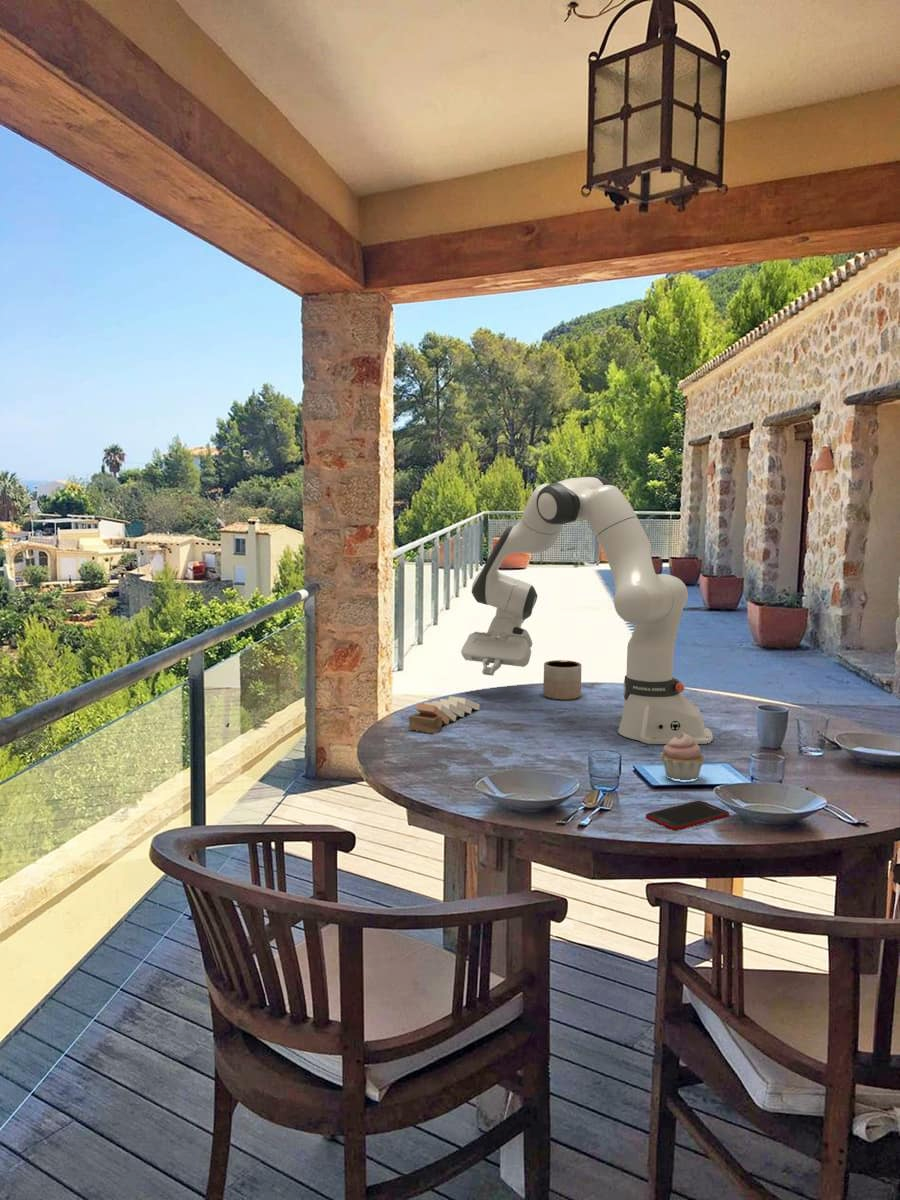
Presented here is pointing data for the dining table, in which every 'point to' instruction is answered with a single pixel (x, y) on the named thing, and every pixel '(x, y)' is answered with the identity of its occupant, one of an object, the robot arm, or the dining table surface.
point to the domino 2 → (444, 711)
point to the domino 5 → (466, 702)
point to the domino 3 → (452, 708)
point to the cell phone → (687, 815)
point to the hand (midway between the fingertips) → (487, 674)
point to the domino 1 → (432, 712)
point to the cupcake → (682, 758)
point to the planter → (562, 679)
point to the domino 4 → (458, 705)
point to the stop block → (425, 723)
